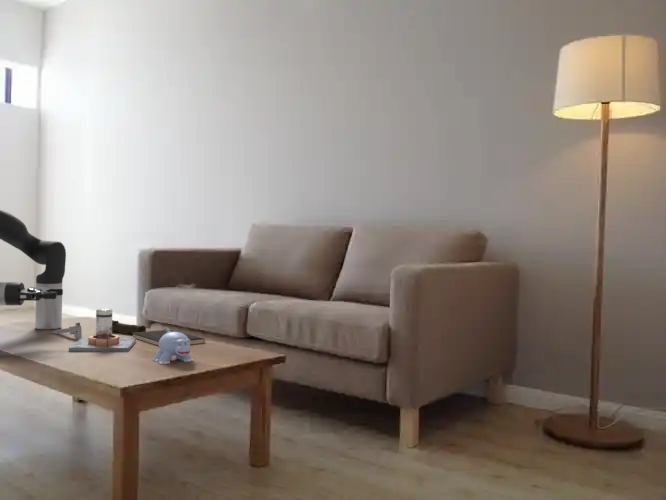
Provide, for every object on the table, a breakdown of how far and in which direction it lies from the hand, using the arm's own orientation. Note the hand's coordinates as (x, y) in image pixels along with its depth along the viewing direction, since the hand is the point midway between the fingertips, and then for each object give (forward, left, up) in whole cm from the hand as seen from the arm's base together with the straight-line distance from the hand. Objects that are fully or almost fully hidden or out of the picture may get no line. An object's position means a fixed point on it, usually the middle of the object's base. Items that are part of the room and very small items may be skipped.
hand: (59, 293), depth 213 cm
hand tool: (-24, +17, -18) cm, 34 cm away
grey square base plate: (+2, +15, -17) cm, 23 cm away
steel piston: (+2, +15, -16) cm, 22 cm away
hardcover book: (-10, +34, -18) cm, 40 cm away
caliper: (-17, -1, -18) cm, 25 cm away
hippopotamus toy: (+27, +40, -17) cm, 51 cm away
